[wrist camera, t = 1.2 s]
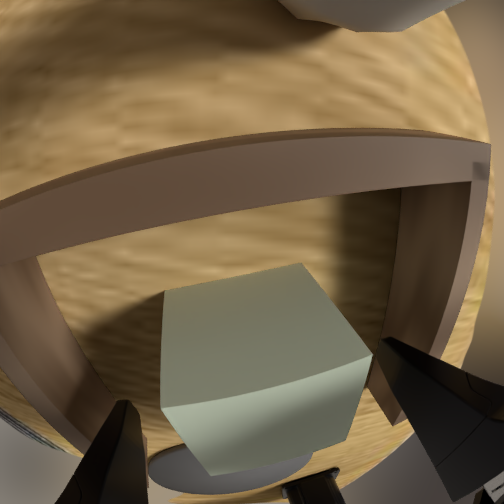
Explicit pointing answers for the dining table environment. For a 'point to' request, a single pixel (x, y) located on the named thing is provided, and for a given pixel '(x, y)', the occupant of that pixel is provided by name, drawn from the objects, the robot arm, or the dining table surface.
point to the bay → (229, 200)
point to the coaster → (200, 482)
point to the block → (259, 369)
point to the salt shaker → (367, 12)
